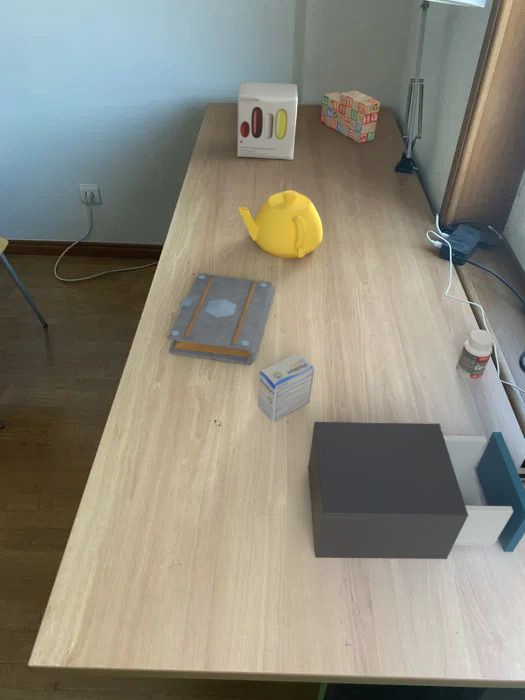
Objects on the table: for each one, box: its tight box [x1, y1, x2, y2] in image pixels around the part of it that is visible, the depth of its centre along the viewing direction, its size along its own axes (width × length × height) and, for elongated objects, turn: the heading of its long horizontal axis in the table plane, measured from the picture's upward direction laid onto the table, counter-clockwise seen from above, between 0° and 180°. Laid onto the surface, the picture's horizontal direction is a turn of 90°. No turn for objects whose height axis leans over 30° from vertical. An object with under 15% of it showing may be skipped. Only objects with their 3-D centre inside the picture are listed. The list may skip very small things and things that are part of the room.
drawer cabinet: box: [307, 421, 468, 560], centre depth 77 cm, size 18×15×11 cm
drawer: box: [443, 431, 525, 553], centre depth 77 cm, size 22×13×9 cm, turn 90°
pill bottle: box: [455, 329, 495, 381], centre depth 100 cm, size 5×5×8 cm
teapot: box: [238, 189, 323, 259], centre depth 129 cm, size 20×19×13 cm
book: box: [167, 272, 276, 366], centre depth 109 cm, size 21×16×5 cm
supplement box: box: [236, 81, 299, 161], centre depth 169 cm, size 17×13×18 cm
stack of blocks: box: [320, 89, 381, 144], centre depth 185 cm, size 21×6×12 cm, turn 32°
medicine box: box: [258, 352, 315, 423], centre depth 92 cm, size 8×4×9 cm, turn 126°
